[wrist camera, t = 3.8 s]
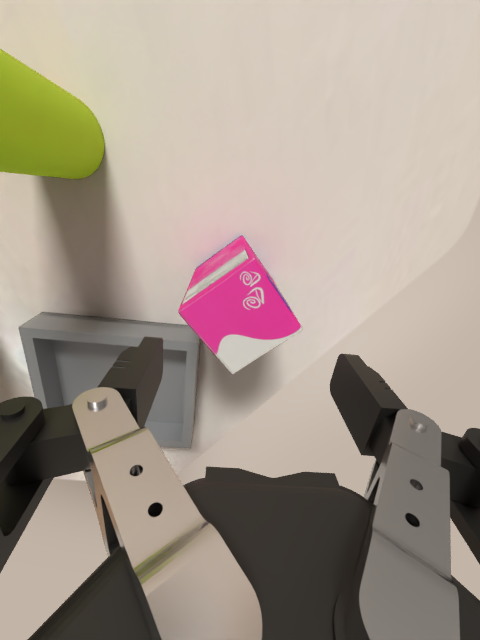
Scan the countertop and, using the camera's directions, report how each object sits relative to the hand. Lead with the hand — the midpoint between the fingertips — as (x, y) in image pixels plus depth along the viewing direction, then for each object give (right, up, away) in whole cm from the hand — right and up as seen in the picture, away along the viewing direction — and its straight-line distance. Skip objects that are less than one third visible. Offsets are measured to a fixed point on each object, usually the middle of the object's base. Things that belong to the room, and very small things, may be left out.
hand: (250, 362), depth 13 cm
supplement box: (-1, +7, +15) cm, 16 cm away
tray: (-13, -4, +19) cm, 24 cm away
